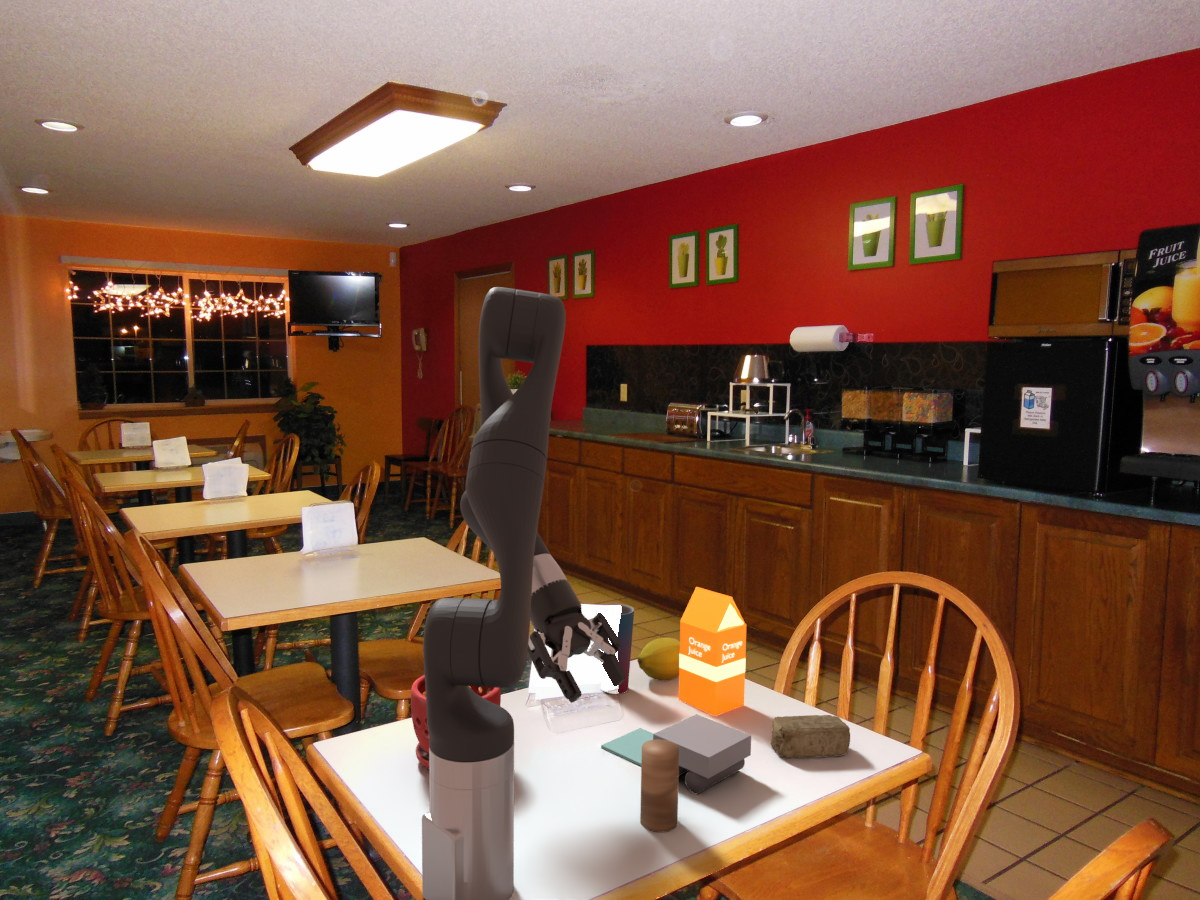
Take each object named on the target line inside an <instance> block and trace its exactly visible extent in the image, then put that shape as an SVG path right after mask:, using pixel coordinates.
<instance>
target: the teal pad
mask: <svg viewBox="0 0 1200 900" xmlns="http://www.w3.org/2000/svg"><path fill="white" fill-rule="evenodd" d="M653 734H654V733H653V732H651V731H648V730H646V729H644V728H641V727H640V728H639V727H638V728H637V729H635V730H633V731H630V732H628V733H626V734H623V735H621V736H619V737H617V738H614V739H612V740H610V741H608V742H605V743H603V744H601V745H600V748H601V749H602V750H605V751H607V752H609V753H612V754H614V755H616V756H619V757H620V758H623V759H625V760H627V761H629V762H631V763H633V764H635V765H638V766H639V767H641V759H642V745H643V744H644V743H645V742H647V741H650V740H653Z"/></svg>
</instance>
